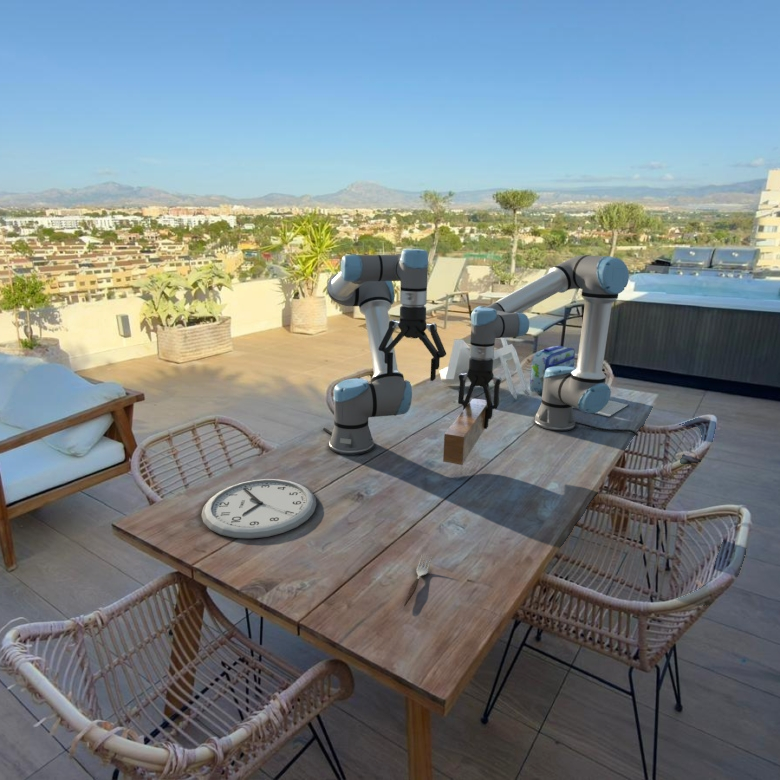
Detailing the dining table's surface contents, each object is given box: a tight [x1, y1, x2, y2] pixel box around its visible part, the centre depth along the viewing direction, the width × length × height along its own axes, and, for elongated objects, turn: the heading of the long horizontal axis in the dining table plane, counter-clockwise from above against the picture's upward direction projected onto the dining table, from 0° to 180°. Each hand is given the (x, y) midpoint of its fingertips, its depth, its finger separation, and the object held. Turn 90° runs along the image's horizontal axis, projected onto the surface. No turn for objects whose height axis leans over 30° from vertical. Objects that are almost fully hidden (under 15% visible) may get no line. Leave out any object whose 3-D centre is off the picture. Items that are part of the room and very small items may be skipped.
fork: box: [403, 554, 432, 607], centre depth 111 cm, size 3×16×2 cm, turn 160°
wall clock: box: [201, 478, 317, 539], centre depth 141 cm, size 30×2×30 cm
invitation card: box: [575, 399, 629, 418], centre depth 226 cm, size 21×1×15 cm
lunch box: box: [529, 345, 576, 394], centre depth 244 cm, size 26×11×21 cm, turn 135°
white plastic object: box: [438, 338, 531, 400], centre depth 245 cm, size 37×45×31 cm
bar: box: [442, 398, 488, 466], centre depth 160 cm, size 34×6×8 cm, turn 158°
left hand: (411, 377), depth 155 cm, fingers open, 13 cm apart
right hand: (476, 425), depth 172 cm, fingers closed on bar, 6 cm apart
